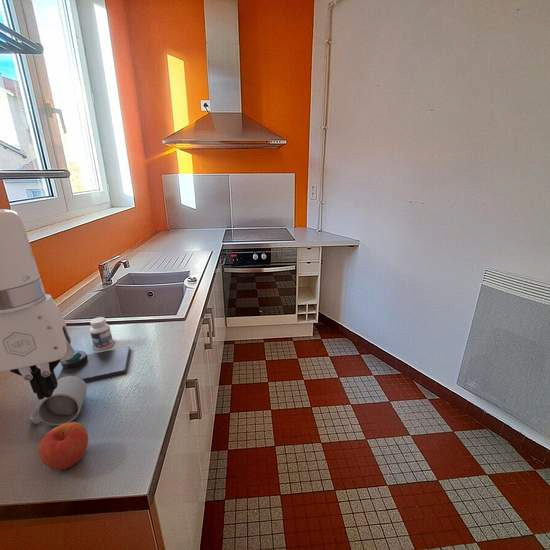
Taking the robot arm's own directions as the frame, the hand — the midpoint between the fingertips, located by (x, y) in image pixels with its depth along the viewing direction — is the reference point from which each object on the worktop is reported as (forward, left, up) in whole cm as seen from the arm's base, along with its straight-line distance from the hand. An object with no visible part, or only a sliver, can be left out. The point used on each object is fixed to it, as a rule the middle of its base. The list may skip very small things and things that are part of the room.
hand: (47, 393), depth 51 cm
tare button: (-7, +33, -13) cm, 36 cm away
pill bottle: (-1, +42, -16) cm, 44 cm away
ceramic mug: (-5, +14, -16) cm, 21 cm away
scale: (-1, +30, -15) cm, 33 cm away
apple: (0, 0, -16) cm, 16 cm away
